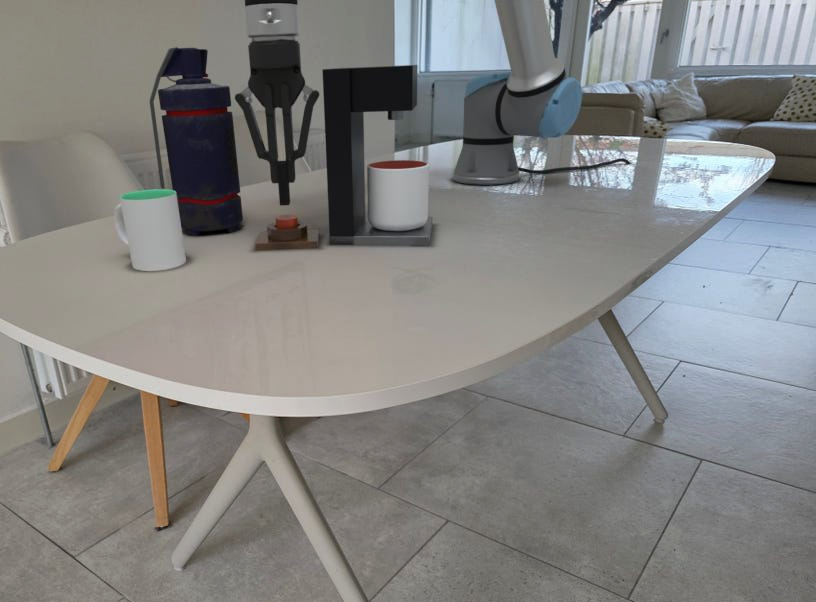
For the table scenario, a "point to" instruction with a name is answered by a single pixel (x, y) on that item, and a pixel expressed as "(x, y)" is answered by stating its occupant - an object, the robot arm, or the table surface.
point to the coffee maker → (362, 147)
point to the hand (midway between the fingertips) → (285, 203)
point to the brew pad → (287, 238)
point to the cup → (398, 194)
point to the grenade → (198, 143)
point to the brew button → (286, 221)
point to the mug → (151, 229)
